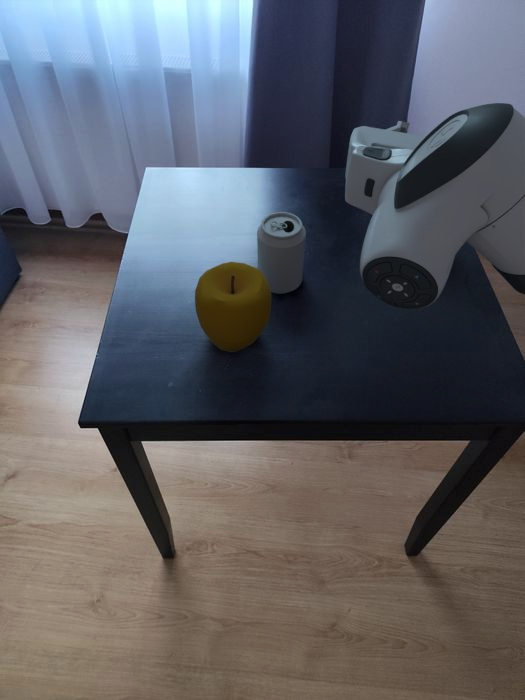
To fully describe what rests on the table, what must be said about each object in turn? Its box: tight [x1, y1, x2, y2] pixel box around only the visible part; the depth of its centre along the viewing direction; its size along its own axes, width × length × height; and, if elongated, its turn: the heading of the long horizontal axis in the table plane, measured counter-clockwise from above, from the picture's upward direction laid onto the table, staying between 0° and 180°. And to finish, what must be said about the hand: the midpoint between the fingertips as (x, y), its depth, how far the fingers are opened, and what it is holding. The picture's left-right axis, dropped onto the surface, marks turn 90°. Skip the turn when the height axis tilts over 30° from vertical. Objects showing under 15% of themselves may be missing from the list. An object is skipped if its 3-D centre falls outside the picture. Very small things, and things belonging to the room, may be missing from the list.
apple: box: [194, 261, 272, 353], centre depth 68 cm, size 11×11×13 cm
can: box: [256, 211, 307, 295], centre depth 76 cm, size 8×8×12 cm
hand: (440, 133), depth 60 cm, fingers open, 8 cm apart
